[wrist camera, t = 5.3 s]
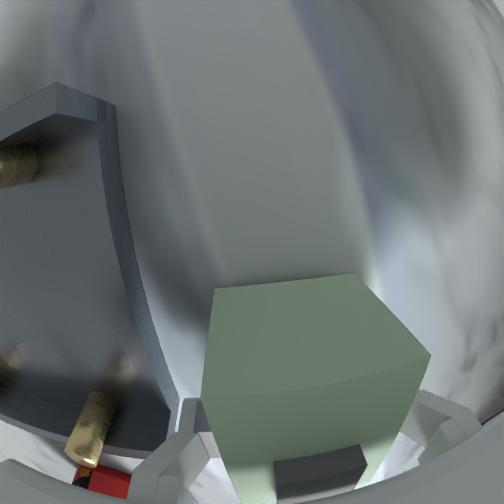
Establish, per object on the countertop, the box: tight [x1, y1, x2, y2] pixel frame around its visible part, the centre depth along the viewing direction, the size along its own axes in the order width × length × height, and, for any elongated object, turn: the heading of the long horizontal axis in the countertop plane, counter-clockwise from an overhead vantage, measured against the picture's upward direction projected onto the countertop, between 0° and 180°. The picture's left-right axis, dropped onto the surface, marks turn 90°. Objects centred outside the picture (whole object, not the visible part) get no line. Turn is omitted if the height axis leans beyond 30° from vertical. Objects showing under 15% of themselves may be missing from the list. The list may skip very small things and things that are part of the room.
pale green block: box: [200, 273, 431, 504], centre depth 8 cm, size 5×7×6 cm
